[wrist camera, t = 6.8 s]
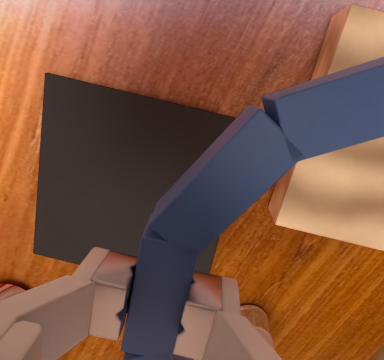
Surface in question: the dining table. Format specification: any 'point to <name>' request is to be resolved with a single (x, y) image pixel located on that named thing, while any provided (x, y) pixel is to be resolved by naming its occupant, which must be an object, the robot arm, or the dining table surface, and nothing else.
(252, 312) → the spice jar
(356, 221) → the platform
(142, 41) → the dining table surface
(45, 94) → the mat
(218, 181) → the ring
